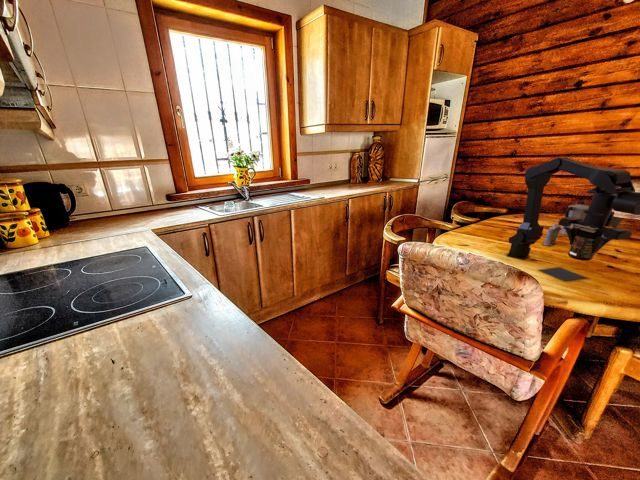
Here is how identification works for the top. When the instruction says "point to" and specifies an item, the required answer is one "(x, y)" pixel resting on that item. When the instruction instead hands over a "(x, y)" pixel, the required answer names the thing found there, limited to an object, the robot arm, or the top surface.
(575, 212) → the coffeepot
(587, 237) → the supplement container
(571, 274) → the mat
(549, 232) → the flask
